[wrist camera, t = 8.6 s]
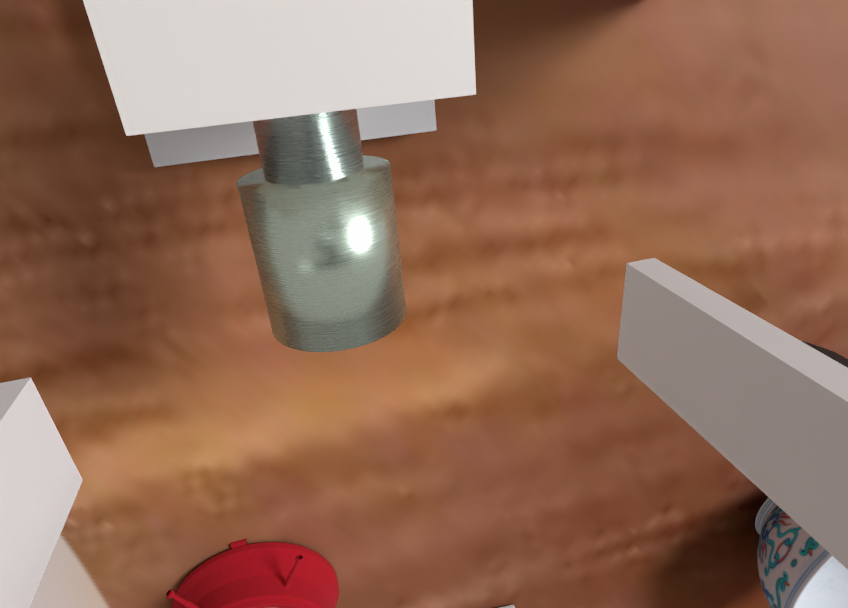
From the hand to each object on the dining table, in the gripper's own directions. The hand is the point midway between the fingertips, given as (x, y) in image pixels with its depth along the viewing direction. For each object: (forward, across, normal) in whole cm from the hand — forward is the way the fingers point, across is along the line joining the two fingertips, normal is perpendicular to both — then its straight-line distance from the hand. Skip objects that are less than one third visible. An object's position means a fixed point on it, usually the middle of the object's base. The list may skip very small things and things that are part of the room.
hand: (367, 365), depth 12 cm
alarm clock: (+15, -8, -28) cm, 33 cm away
